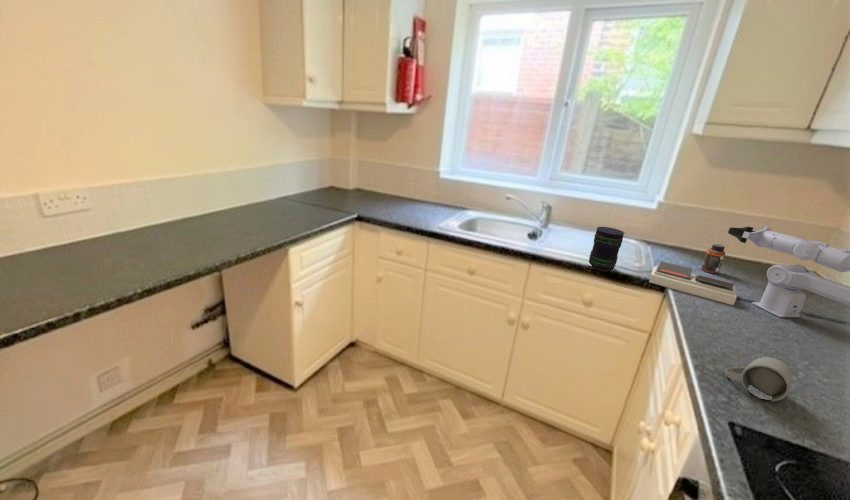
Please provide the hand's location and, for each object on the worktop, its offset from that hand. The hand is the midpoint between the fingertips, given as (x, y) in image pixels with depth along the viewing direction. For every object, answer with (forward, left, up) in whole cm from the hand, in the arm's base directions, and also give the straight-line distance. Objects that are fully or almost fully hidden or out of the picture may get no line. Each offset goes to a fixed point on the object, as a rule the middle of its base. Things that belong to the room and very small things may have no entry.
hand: (737, 231), depth 137 cm
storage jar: (+15, +39, -21) cm, 47 cm away
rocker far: (+1, +20, -16) cm, 26 cm away
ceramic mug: (-55, +48, -21) cm, 76 cm away
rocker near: (-8, +12, -16) cm, 21 cm away
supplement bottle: (+12, -9, -21) cm, 26 cm away
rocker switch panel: (-4, +16, -21) cm, 26 cm away
